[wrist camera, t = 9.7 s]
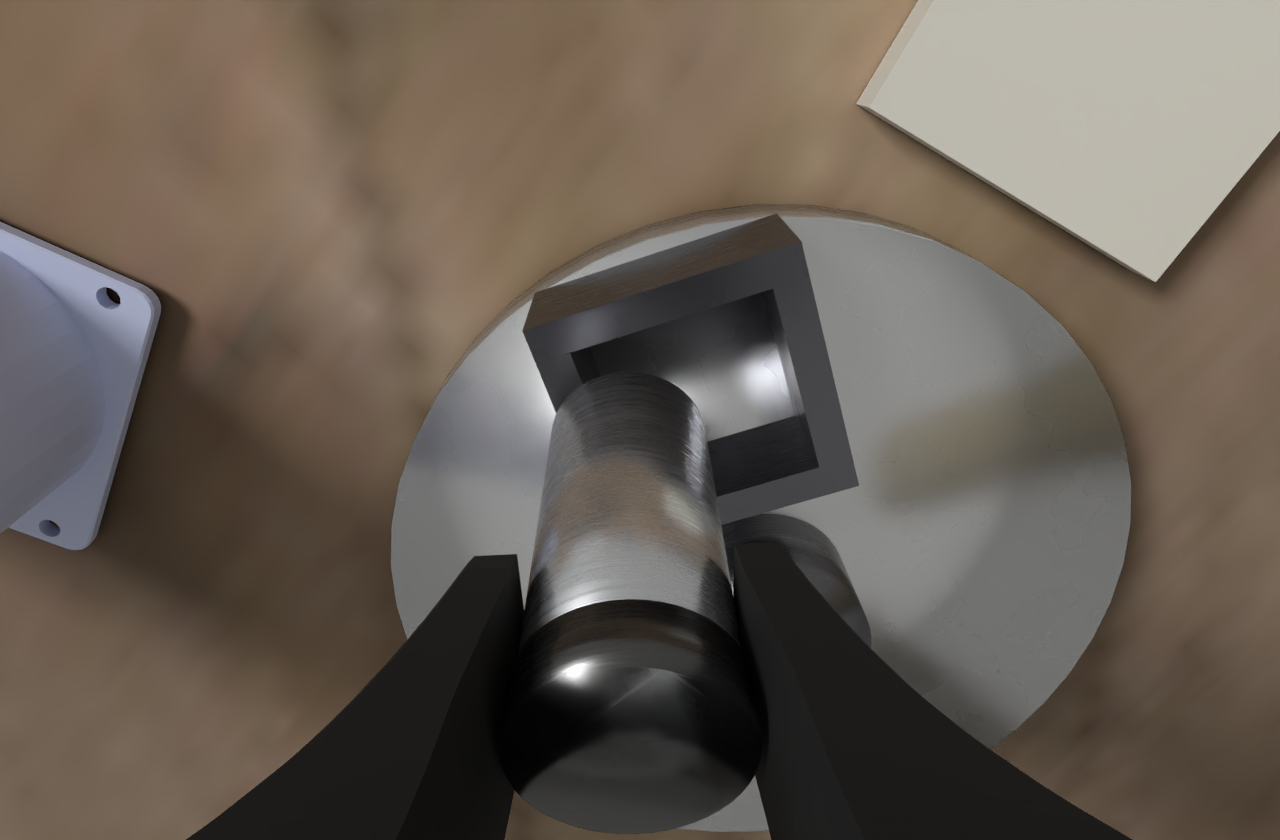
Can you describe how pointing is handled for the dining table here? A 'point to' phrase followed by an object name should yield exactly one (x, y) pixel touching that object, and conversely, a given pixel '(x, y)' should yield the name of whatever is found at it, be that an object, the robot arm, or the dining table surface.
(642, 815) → the shiny metal cylinder
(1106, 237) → the rest
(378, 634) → the dining table surface
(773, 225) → the collar wheel
